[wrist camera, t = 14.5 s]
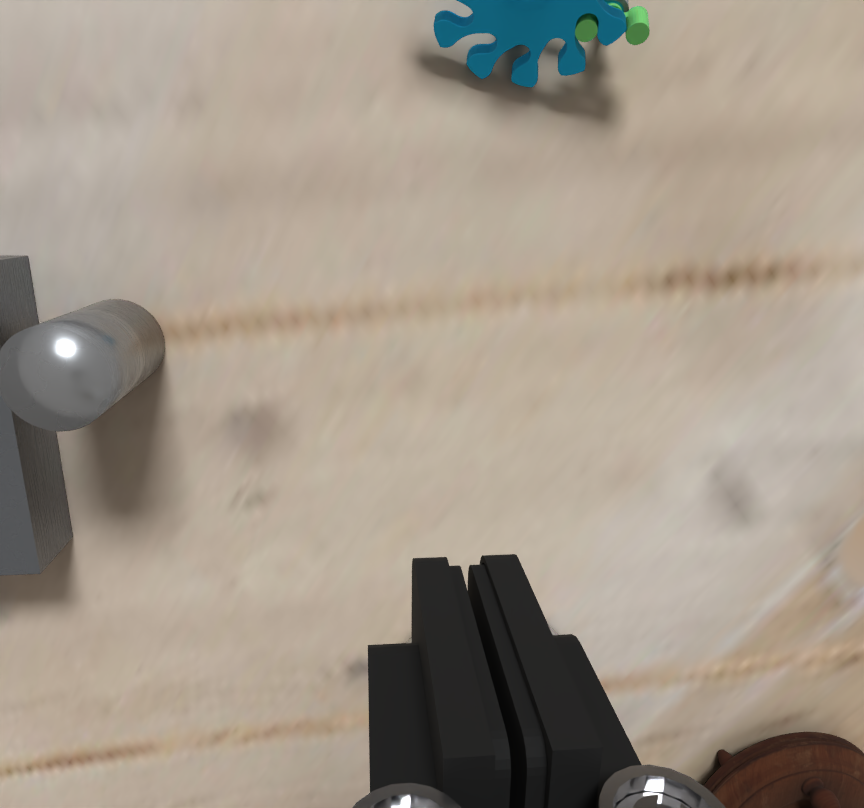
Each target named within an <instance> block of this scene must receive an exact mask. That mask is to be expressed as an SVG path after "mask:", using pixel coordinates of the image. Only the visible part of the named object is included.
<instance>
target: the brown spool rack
mask: <svg viewBox="0 0 864 808" xmlns="http://www.w3.org/2000/svg"><path fill="white" fill-rule="evenodd" d="M718 759H719V763H720V765H721V767H720V768H719V769H718V770H717V771H716V772H715V773H714V774H713V775H712V776H711V777H710V778H709V779H708V781H707V782H706V783H705V785H704V787H706V788H707V789H708V790H709V791H710V792H711V793H712V794H713V795H714V796H715V797H716V798H717V799H718V800H719V801H720V802H721V803H722V804H723V805H724V806H725V808H864V753H863V752H862V751H861V750H860V749H859V748H857V747H856V746H855V745H853V744H852V743H850V742H849V741H847V740H845V739H843V738H840V737H837V736H834V735H830V734H825V733H818V732H798V733H790V734H785V735H780V736H776V737H773V738H770V739H767V740H764V741H761V742H759V743H757V744H755V745H752V746H750V747H749V748H747V749H745V750H743V751H741V752H740V753H738V754H737V755H735V756H734V757H733V756H732V755H731V754H729V753H728V752H726V751H725V750H719V751H718Z"/></svg>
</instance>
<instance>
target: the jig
mask: <svg viewBox="0 0 864 808" xmlns="http://www.w3.org/2000/svg"><path fill="white" fill-rule="evenodd" d="M38 324H39V323H38V316H37V310H36V304H35V298H34V291H33V285H32V279H31V273H30V266H29V260H28V256H0V350H1V348H2V346H3V345H4V344H5V343H6V341H7V340H8V339H10V338H11V337H12V336H13V335H15V334H16V333H18V332H20V331H22V330H24V329H27V328H29V327H32V326H35V325H38ZM72 537H73V535H72V529H71V522H70V516H69V510H68V504H67V497H66V491H65V485H64V479H63V472H62V466H61V460H60V454H59V447H58V441H57V435H56V431H51V430H46V429H42V428H39V427H36V426H34V425H31V424H30V423H28V422H26V421H24V420H23V419H21V418H20V417H19V416H17V415H16V414H15V413H14V412H13V411H12V410H11V409H10V408H9V407H8V406H7V404H6V403H5V401H4V400H3V398H2V396H1V395H0V575H19V574H41V573H42V571H43V570H44V569H45V568H46V567H47V566H48V565H49V563H50V562H51V561H52V560H53V559H54V558H55V557H56V555H57V554H58V553H59V552H60V551H61V550H62V549H63V547H64V546H65V545H66V544H67V543H68V542H69V541H70V539H71V538H72Z"/></svg>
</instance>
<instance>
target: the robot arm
mask: <svg viewBox="0 0 864 808" xmlns="http://www.w3.org/2000/svg"><path fill="white" fill-rule="evenodd" d="M368 681H369V747H370V793H369V794H368V795H366V796H365V797H364V798H362V799H361V800H359V801H358V802H357V803H356V804H355V805H354V806H353V808H725V806H724V805H723V804H722V803H721V802H720V801H719V800H718V799H717V798H716V797H715V796H714V795H713V794H712V793H711V792H710V791H709V790H708V789H707V788H706V787H704V786H703V785H701V784H700V783H698V782H697V781H695V780H694V779H692V778H691V777H689V776H687V775H684V774H682V773H680V772H677V771H675V770H672V769H670V768H665V767H660V766H654V765H641V763H640V761H639V759H638V757H637V755H636V753H635V751H634V749H633V747H632V745H631V743H630V741H629V739H628V737H627V735H626V733H625V731H624V729H623V727H622V725H621V723H620V721H619V719H618V717H617V715H616V713H615V711H614V709H613V707H612V705H611V703H610V701H609V699H608V697H607V695H606V693H605V691H604V689H603V687H602V685H601V683H600V681H599V679H598V677H597V675H596V673H595V671H594V669H593V667H592V665H591V663H590V661H589V659H588V658H587V656H586V654H585V652H584V650H583V648H582V646H581V644H580V642H579V640H578V639H577V637H576V636H574V635H572V634H569V635H558V634H557V632H555V631H554V630H553V629H552V628H551V627H550V626H549V625H548V624H547V621H546V619H545V617H544V615H543V613H542V610H541V608H540V606H539V604H538V601H537V599H536V597H535V595H534V592H533V590H532V588H531V586H530V583H529V581H528V579H527V577H526V575H525V572H524V570H523V568H522V566H521V563H520V561H519V559H518V557H517V555H515V554H512V555H487V556H482V557H481V560H480V565H470V566H469V571H468V591H467V588H466V584H465V581H464V577H463V573H462V570H461V567H460V566H449V563H448V560H447V557H437V558H413V561H412V637H411V638H410V639H409V640H408V641H407V643H401V644H383V645H368Z"/></svg>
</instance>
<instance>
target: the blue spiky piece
mask: <svg viewBox="0 0 864 808" xmlns="http://www.w3.org/2000/svg"><path fill="white" fill-rule="evenodd" d="M457 1H459V2H461V3H463V4H465V5H466V6H468V7H470V8H471V10H472V11H473V13H472V15H470V16H469V17H460V16H458V15H456V14H454V13H453V12H450V11H440V12H439V13H437V14H436V16H435V21H434V32H435V36H436V39H437V41H438V43H439V45H440V47H443V48H446V47H450V46H452V45H454V44H455V43H456V42H457V41H458V40H459V39H461V38H462V37H464V36H467V35H470V34H475V33H490V34H492V35H494V36H495V37H496V41H495V42H493V43H491V44H477V45H475V46H473V47H472V48H471V49H470V50H469V52H468V56H467V63H466V64H467V66H468V67H469V69H470V70H471V71H472V72H473V73H474V74H475V75H477V76H478V77H479V78H481V79H483V78H486V77H487V76H489V75H490V73H491V72H492V69H493V66H494V64H495V62H496V61H497V59H498V58H499V57H500V56H501V55H502V54H503V53H504V52H506V51H507V50H509V49H511V48H513V47H514V46H517V45H525V46H527V47H528V48H529V49H530V50H529V51H528V52H527V53H526V54H524V55H522V56H520V57H519V58H517V59H516V60H515V61H514V63H513V65H512V76H511V80H512V82H514V83H515V84H518V85H521V86H525V87H533V86H534V85H535V84H536V82H537V80H538V63H537V62H538V59H539V56H540V54H541V52H542V50H543V49H544V47H545V46H546V44H547V43H548V42H549V41H550V40H551V39H553V38H561V39H563V40H564V41H565V42H566V43H565V44H564V46H563V47H562V49H561V50H560V52H559V55H558V71H559V73H560V74H561V75H564V76H567V75H573V74H576V73H579V72H582V71H584V69H585V50H584V48H583V47H582V46H581V45H580V43H579V42H578V40H579V41H581V42H588V41H591V40H592V39H594V38H595V36H596V35H597V36H598V40H599V41H600V42H601V43H602V44H603V45H606V46H607V45H609V44H611V43H613V42H614V41H616V40H617V39H618V38H619V37H620V36H621V35H622V34H623V33H624V32H625V31H626V39H627V41H628V42H629V43H630V44H633V45H638V44H641V43H643V42H644V41H645V40H646V39H647V38H648V36H649V22H648V13H647V10H646V9H645V8H643V7H641V6H637V7H633V8H631V9H630V10H629V6H628V0H457ZM577 39H578V40H577Z"/></svg>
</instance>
